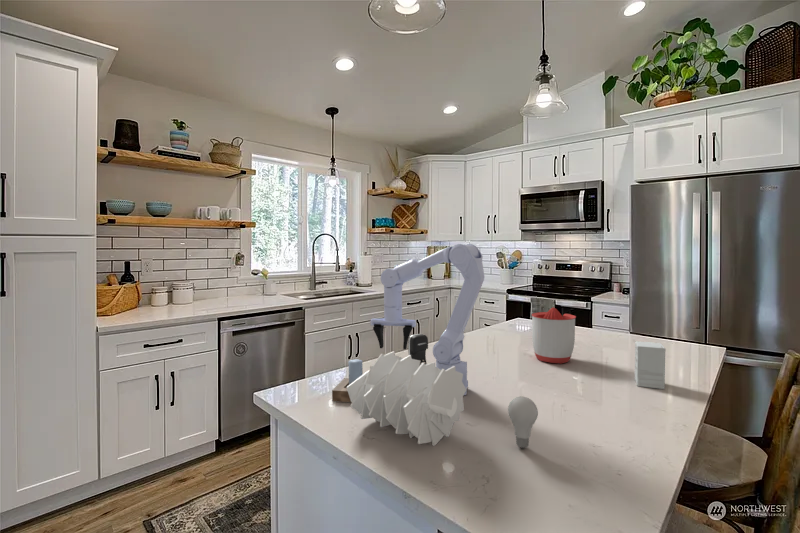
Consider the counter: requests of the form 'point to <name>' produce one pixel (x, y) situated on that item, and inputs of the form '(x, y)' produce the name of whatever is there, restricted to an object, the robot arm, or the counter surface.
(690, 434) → the counter surface
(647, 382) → the supplement box
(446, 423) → the spiral staircase
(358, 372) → the peg
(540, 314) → the citrus juicer
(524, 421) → the lightbulb
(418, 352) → the battery charger
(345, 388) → the socket block
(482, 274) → the robot arm
